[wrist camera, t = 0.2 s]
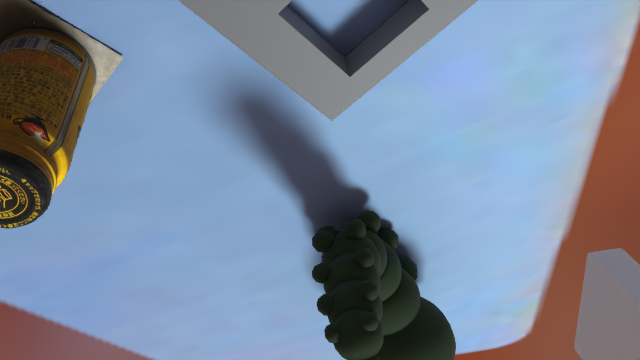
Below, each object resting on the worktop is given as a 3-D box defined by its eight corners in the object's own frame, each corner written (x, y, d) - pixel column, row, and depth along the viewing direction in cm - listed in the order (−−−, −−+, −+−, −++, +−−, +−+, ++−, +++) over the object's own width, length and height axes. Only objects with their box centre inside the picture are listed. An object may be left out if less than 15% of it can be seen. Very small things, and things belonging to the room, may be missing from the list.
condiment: (72, 126, 40) (28, 257, 32) (-57, 61, 36) (-149, 194, 27) (124, 55, 37) (91, 181, 28) (-10, -25, 33) (-98, 94, 24)
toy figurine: (278, 195, 50) (375, 344, 64) (283, 392, 35) (408, 526, 50) (378, 156, 48) (455, 318, 63) (429, 347, 33) (513, 500, 48)
